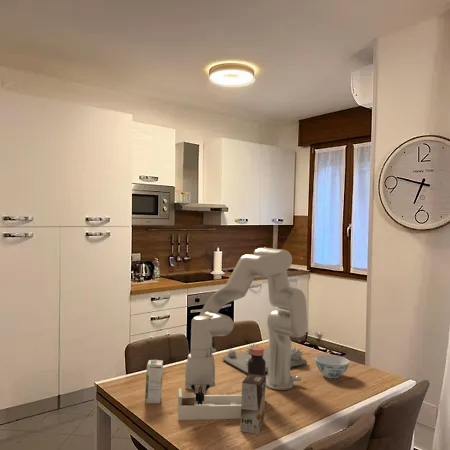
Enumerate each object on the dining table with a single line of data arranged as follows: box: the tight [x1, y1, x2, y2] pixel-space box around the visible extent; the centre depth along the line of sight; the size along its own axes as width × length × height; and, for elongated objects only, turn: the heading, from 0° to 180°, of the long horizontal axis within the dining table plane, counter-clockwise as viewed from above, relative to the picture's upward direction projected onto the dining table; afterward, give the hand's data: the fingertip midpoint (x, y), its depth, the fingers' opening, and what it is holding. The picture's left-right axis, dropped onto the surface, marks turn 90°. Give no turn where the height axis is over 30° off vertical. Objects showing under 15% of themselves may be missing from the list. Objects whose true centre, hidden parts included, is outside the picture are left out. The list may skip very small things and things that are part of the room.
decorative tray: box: [222, 343, 308, 375], centre depth 208 cm, size 35×26×10 cm
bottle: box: [247, 346, 266, 376], centre depth 164 cm, size 7×7×20 cm
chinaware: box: [314, 354, 350, 379], centre depth 193 cm, size 15×15×8 cm
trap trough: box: [177, 387, 242, 421], centre depth 152 cm, size 28×10×8 cm, turn 97°
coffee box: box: [239, 374, 267, 435], centre depth 142 cm, size 9×6×16 cm
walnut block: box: [182, 392, 195, 406], centre depth 150 cm, size 4×4×4 cm
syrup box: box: [144, 359, 164, 404], centre depth 160 cm, size 6×6×14 cm
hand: (199, 402), depth 151 cm, fingers closed
